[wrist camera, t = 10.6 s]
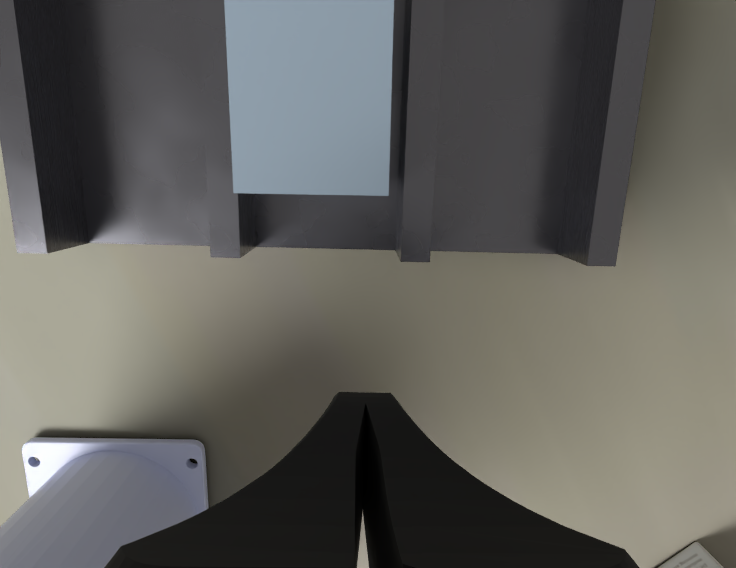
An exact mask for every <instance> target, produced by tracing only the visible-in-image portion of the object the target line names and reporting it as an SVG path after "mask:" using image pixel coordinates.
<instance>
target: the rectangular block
mask: <svg viewBox="0 0 736 568" xmlns="http://www.w3.org/2000/svg"><path fill="white" fill-rule="evenodd" d="M224 6H225V27H226V47H227V68H228V89H229V110H230V131H231V151H232V172H233V193H249V194H308V195H366V196H389V164H390V128H391V91H392V55H393V18H394V0H224Z"/></svg>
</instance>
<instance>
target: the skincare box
mask: <svg viewBox="0 0 736 568" xmlns="http://www.w3.org/2000/svg"><path fill="white" fill-rule="evenodd" d="M658 568H724V567H723V566H722V565H721V564H720V563H719V562H718V561H717V560H716V559H715V558H714V557H713V556H712V555H711V554H710V553H709V552H708V551H707V550H706V549H705V548H704V547H703V546H702V545H701V544H699V543H698V542H694V543H693V544H691V545H690V546H688V547H687V548H685V549H684V550H683V551H681V552H680V553H678V554H677V555H675V556H674V557H672V558H671V559H670V560H668V561H667V562H665V563H664V564H662V565H661V566H659V567H658Z"/></svg>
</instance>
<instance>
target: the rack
mask: <svg viewBox="0 0 736 568" xmlns="http://www.w3.org/2000/svg"><path fill="white" fill-rule="evenodd" d="M655 1H656V0H394V18H393V55H392V91H391V128H390V164H389V196H366V195H308V194H249V193H233V172H232V151H231V131H230V110H229V89H228V68H227V47H226V27H225V6H224V0H0V141H1V148H2V154H3V161H4V168H5V175H6V181H7V188H8V195H9V201H10V208H11V215H12V222H13V228H14V235H15V242H16V248H17V253H51V252H55V251H59V250H63V249H67V248H71V247H75V246H79V245H83V244H87V243H115V244H158V245H201V246H210V252H211V257H224V258H241V257H242V256H244V255H245V254H246V253H248V252H249V251H251V250H252V249H254V248H255V247H287V248H330V249H373V250H395V251H396V253H397V255H398V257H399V259H400V261H401V262H430V251H459V252H502V253H545V254H559V255H562V256H564V257H567V258H569V259H571V260H574V261H576V262H579V263H581V264H584V265H586V266H616V259H617V252H618V246H619V239H620V233H621V226H622V219H623V213H624V206H625V199H626V193H627V186H628V180H629V173H630V166H631V160H632V153H633V147H634V140H635V133H636V127H637V120H638V114H639V107H640V100H641V94H642V87H643V81H644V74H645V67H646V61H647V54H648V48H649V41H650V34H651V28H652V21H653V15H654V8H655Z"/></svg>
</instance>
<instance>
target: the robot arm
mask: <svg viewBox="0 0 736 568" xmlns="http://www.w3.org/2000/svg"><path fill="white" fill-rule="evenodd" d="M22 455H23V461H24V467H25V474H26V480H27V486H28V492H29V499H28V500H27V501H26V502H25V503H24V504H23V505H22V506H21V507H20V508H19V509H18V510H17V511H16V512H15V513H14V514H13V515H12V516H11V517H10V518H9V519H8V520H7V521H6V522H5V523H4V524H2V525H1V526H0V568H357V560H358V550H359V540H360V531H361V521H362V511H363V515H364V525H365V534H366V543H367V552H368V561H369V568H639V567H638V565H637V564H636V563H635V562H634V560H633V559H632V558H631V557H630V555H629V554H628V553H627V552H626V550H625V549H622V548H619V547H617V546H614V545H612V544H609V543H606V542H604V541H601V540H598V539H596V538H593V537H591V536H588V535H585V534H583V533H580V532H578V531H575V530H572V529H570V528H567V527H565V526H563V525H560V524H558V523H556V522H554V521H552V520H550V519H548V518H546V517H543V516H541V515H539V514H537V513H535V512H533V511H531V510H529V509H527V508H525V507H523V506H521V505H520V504H518V503H516V502H514V501H512V500H510V499H509V498H507V497H505V496H504V495H502V494H500V493H499V492H497V491H495V490H494V489H492V488H491V487H489V486H487V485H486V484H484V483H483V482H481V481H480V480H478V479H477V478H475V477H474V476H473V475H471V474H470V473H469V472H467V471H466V470H465V469H463V468H462V467H461V466H459V465H458V464H457V463H455V462H454V461H453V460H452V459H450V458H449V457H448V456H447V455H446V454H445V453H443V452H442V451H441V450H440V449H439V448H438V447H437V446H436V445H435V444H434V443H433V442H432V441H431V440H430V439H429V438H428V437H427V436H426V435H425V434H424V433H423V432H422V431H421V430H420V428H419V427H418V426H417V425H416V424H415V423H414V422H413V420H412V419H411V418H410V417H409V416H408V414H407V413H406V412H405V411H404V409H403V408H402V407H401V405H400V404H399V403H398V401H397V400H396V399H395V397H394V396H393V395H392V394H391V393H356V392H339V393H338V394H337V395H336V396H334V398H333V400H332V402H331V403H330V405H329V406H328V408H327V409H326V411H325V412H324V414H323V415H322V416H321V418H320V419H319V420H318V421H317V423H316V424H315V425H314V426H313V428H312V429H311V430H310V431H309V432H308V434H307V435H306V436H305V437H304V438H303V439H302V440H301V441H300V442H299V443H298V444H297V445H296V446H295V447H294V448H293V449H292V450H291V451H290V452H289V453H288V454H287V455H286V456H285V457H284V458H283V459H282V460H281V461H280V462H279V463H277V464H276V465H275V466H274V467H273V468H271V469H270V470H269V471H268V472H266V473H265V474H264V475H262V476H261V477H259V478H258V479H256V480H255V481H253V482H252V483H250V484H249V485H247V486H246V487H244V488H243V489H241V490H240V491H238V492H237V493H235V494H234V495H232V496H230V497H229V498H227V499H225V500H223V501H222V502H220V503H218V504H216V505H214V506H213V507H211V508H209V507H208V490H207V474H206V457H205V448H204V445H203V444H202V443H201V442H200V441H198V440H190V439H116V438H42V437H36V438H31V439H30V440H28V441H27V442H26V443H25V444H24V445H23V447H22ZM34 457H37V458H38V459H39V460H40V461H37V460H36V459H35V458H34ZM191 458H192V459H195V460H196V461H197V463H196V464H195V463H192V462H191V461H190V460H189V459H191Z"/></svg>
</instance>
